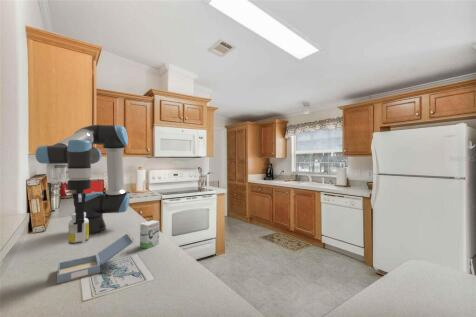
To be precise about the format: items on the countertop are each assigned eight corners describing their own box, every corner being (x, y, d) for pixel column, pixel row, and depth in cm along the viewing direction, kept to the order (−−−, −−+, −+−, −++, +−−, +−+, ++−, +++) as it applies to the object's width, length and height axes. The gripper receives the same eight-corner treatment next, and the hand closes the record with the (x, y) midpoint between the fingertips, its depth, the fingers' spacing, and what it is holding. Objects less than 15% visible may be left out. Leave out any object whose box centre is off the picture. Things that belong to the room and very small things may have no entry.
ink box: (146, 249, 110) (146, 225, 110) (139, 247, 112) (139, 223, 112) (159, 243, 118) (159, 220, 118) (152, 241, 120) (152, 219, 120)
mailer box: (58, 270, 89) (58, 262, 89) (96, 261, 97) (96, 254, 97) (57, 284, 79) (57, 275, 79) (100, 272, 87) (100, 265, 87)
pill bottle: (86, 238, 92) (86, 210, 93) (90, 242, 88) (90, 213, 88) (67, 242, 88) (67, 213, 88) (69, 247, 83) (70, 216, 83)
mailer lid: (127, 230, 104) (128, 233, 104) (96, 251, 97) (98, 254, 97) (133, 238, 94) (134, 240, 95) (99, 262, 87) (101, 264, 87)
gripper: (67, 178, 94) (67, 233, 93) (67, 181, 78) (66, 248, 78) (88, 177, 98) (88, 229, 98) (92, 180, 83) (92, 243, 82)
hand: (79, 237), depth 88 cm, fingers closed on pill bottle, 6 cm apart
